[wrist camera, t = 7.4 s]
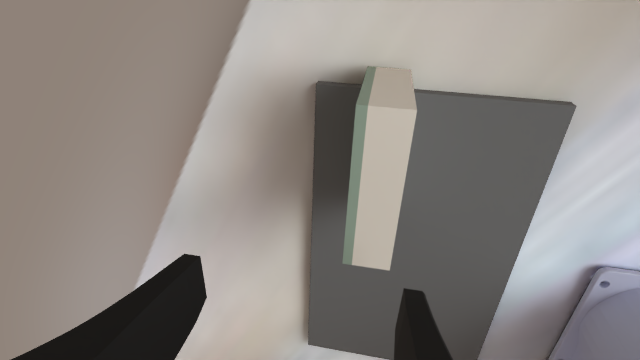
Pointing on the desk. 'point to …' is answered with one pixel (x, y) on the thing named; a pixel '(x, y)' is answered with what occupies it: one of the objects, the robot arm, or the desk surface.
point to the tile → (378, 165)
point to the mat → (431, 216)
